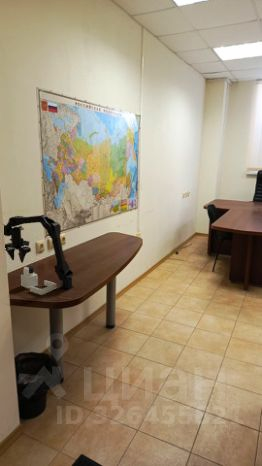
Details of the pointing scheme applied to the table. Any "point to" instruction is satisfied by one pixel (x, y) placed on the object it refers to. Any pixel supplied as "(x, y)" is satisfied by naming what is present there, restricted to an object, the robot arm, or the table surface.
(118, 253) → the table surface
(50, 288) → the holder
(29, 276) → the white stepped block
